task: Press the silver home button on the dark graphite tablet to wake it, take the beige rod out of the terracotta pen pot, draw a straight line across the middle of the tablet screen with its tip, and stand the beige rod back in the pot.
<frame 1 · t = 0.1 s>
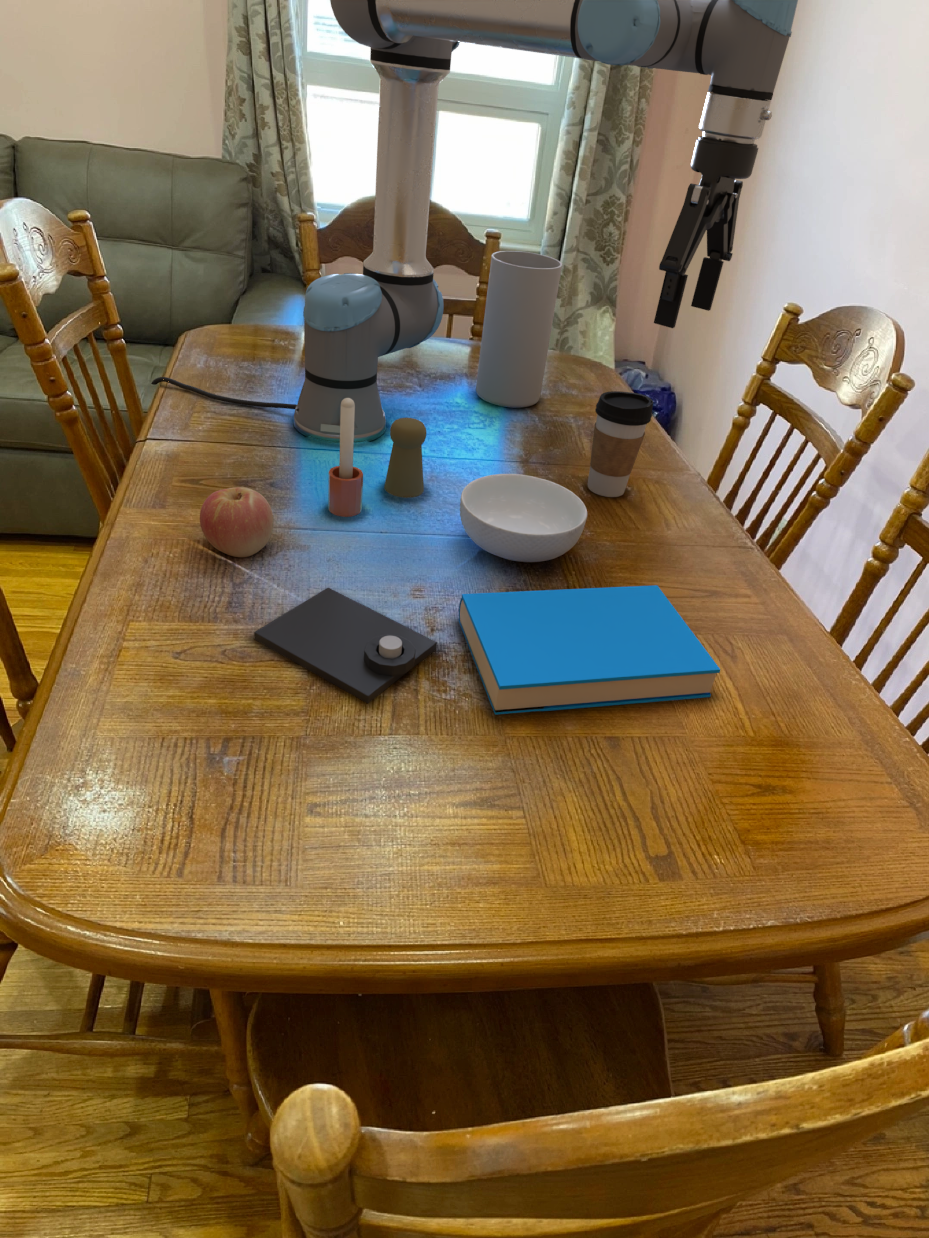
hand: (683, 316, 112), 28 cm above the table, tool pointing down, fingers open, 13 cm apart
coffee cup: (605, 489, 130), on the table
beige rod: (345, 508, 115), resting on pen pot
cereal bowl: (516, 548, 112), on the table
apple: (238, 550, 104), on the table
cylinder vase: (507, 397, 159), on the table
tablet: (346, 644, 91), on the table
book: (579, 657, 94), on the table
home button: (390, 647, 87), point 3 cm above the table, slide at 0.2 cm
pen pot: (344, 511, 115), on the table
cork: (403, 492, 122), on the table
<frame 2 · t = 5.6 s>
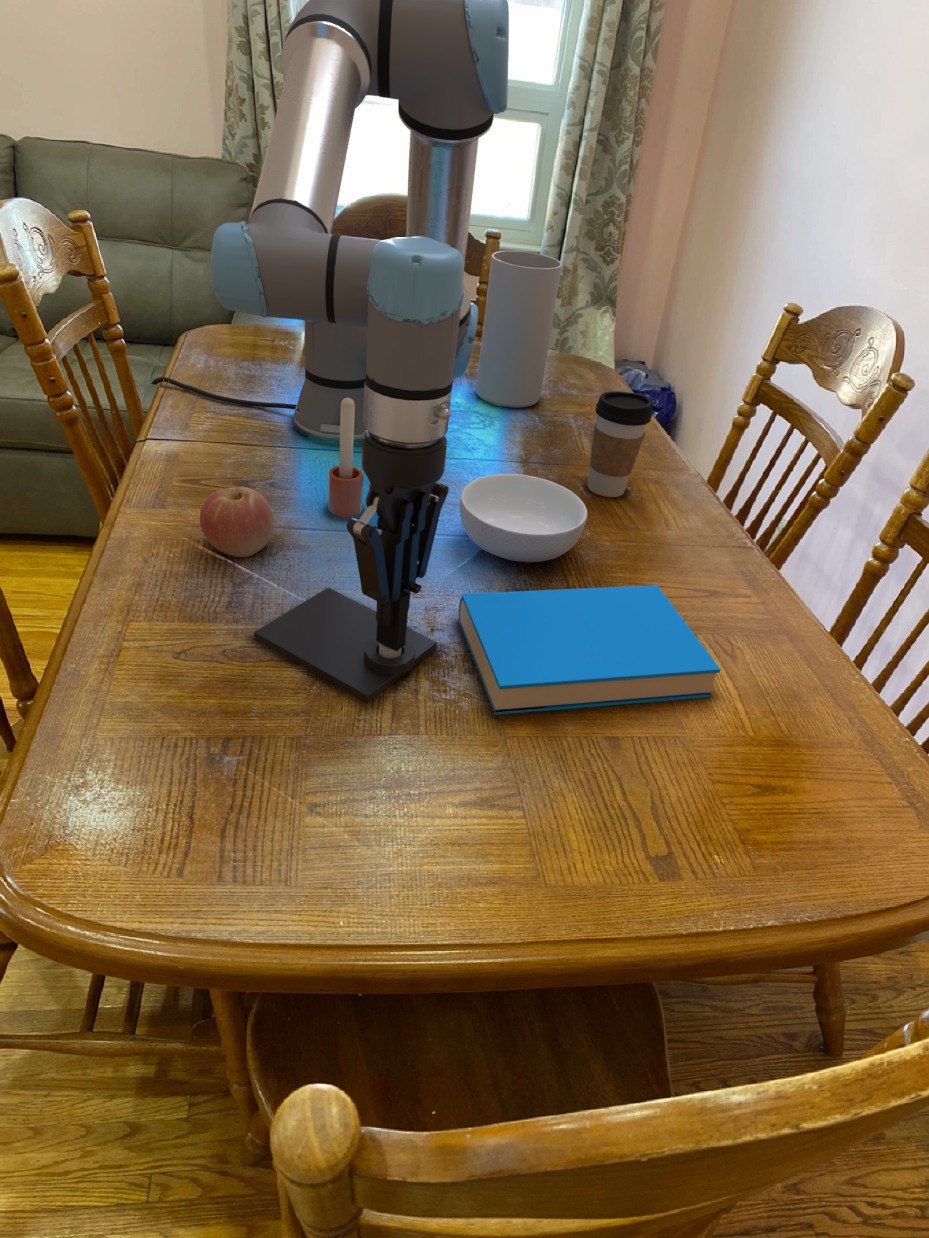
hand: (390, 642, 86), 3 cm above the table, tool pointing down, fingers closed
home button: (390, 649, 87), point 3 cm above the table, slide at -0.1 cm, touching gripper
everything else where it was.
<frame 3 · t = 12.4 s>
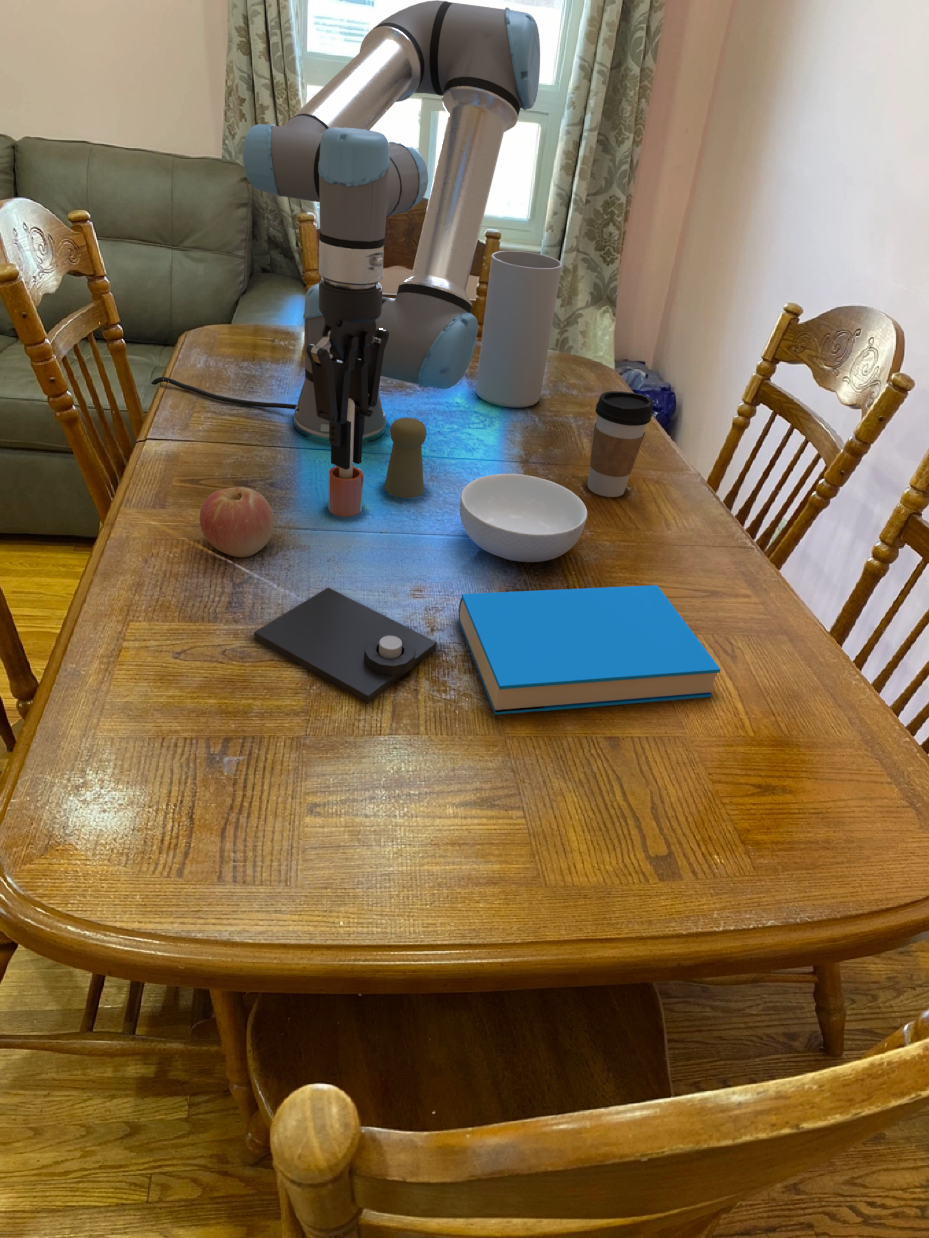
hand: (346, 462, 111), 7 cm above the table, tool pointing down, fingers closed on beige rod, 2 cm apart
beige rod: (345, 508, 115), resting on pen pot, touching gripper
home button: (390, 647, 87), point 3 cm above the table, slide at 0.1 cm
everything else where it was.
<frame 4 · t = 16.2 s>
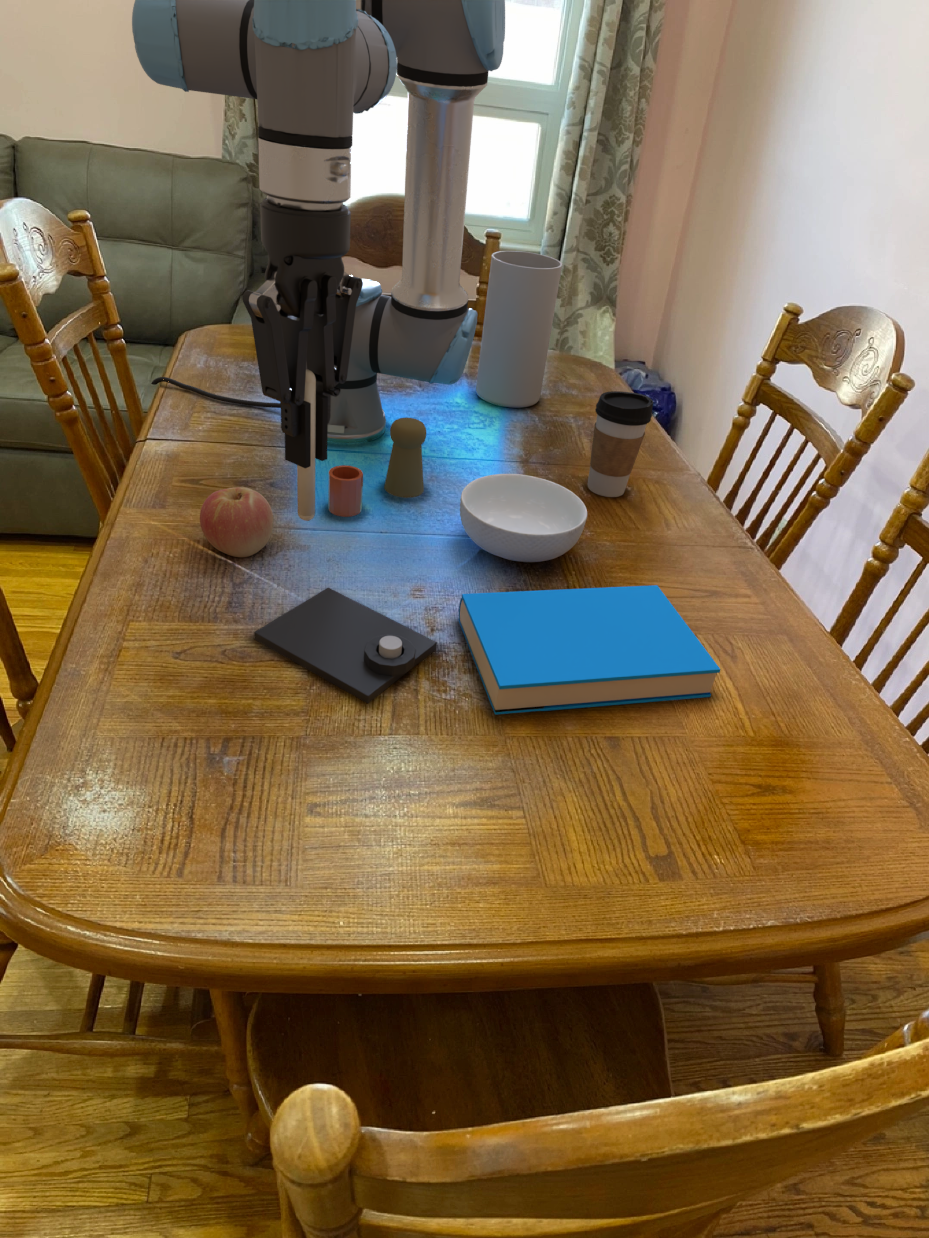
hand: (306, 459, 82), 20 cm above the table, tool pointing down, fingers closed on beige rod, 2 cm apart
beige rod: (306, 519, 86), point 13 cm above the table, touching gripper
everything else where it was.
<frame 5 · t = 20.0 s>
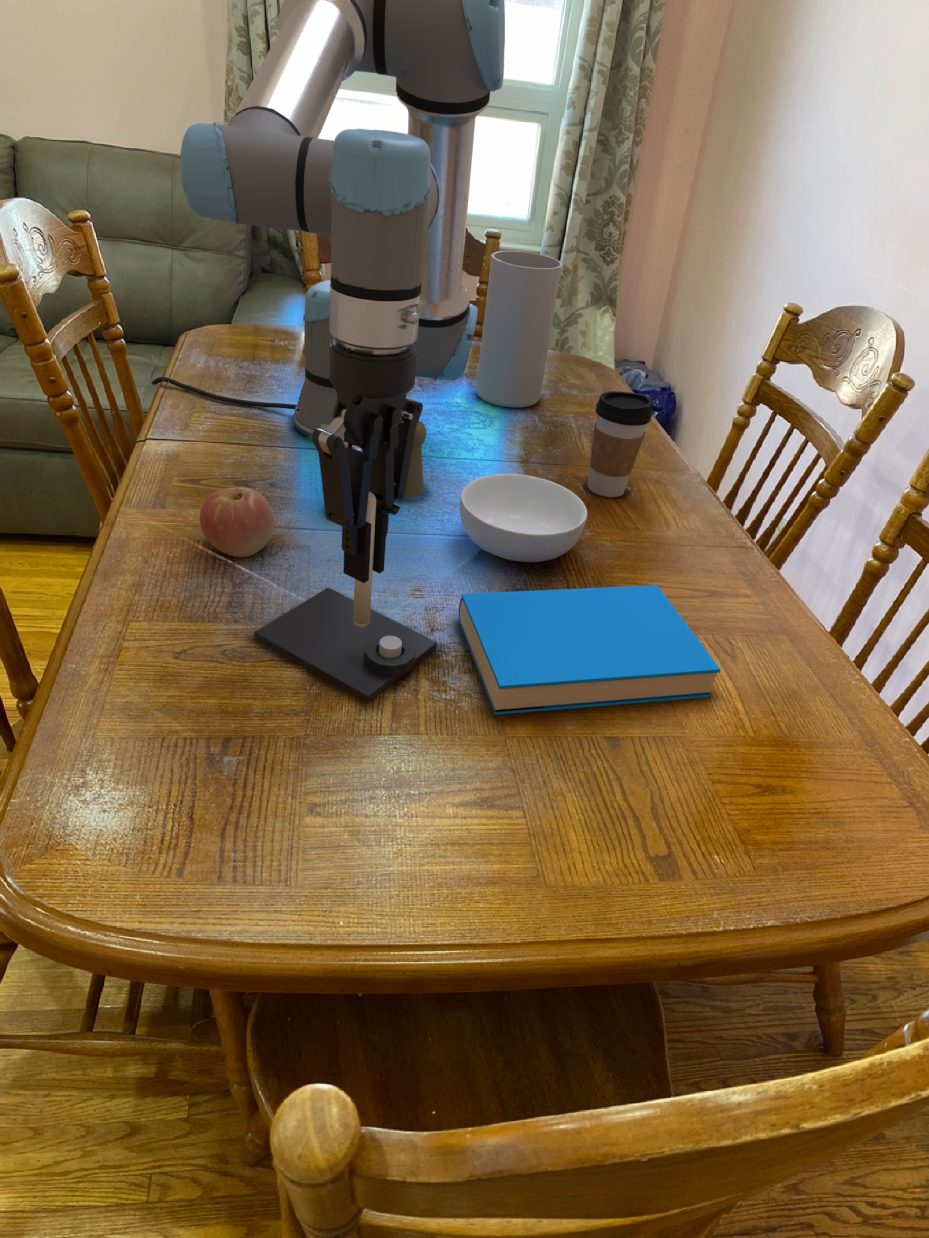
hand: (363, 571, 84), 11 cm above the table, tool pointing down, fingers closed on beige rod, 2 cm apart
beige rod: (361, 625, 88), point 4 cm above the table, touching gripper
everything else where it was.
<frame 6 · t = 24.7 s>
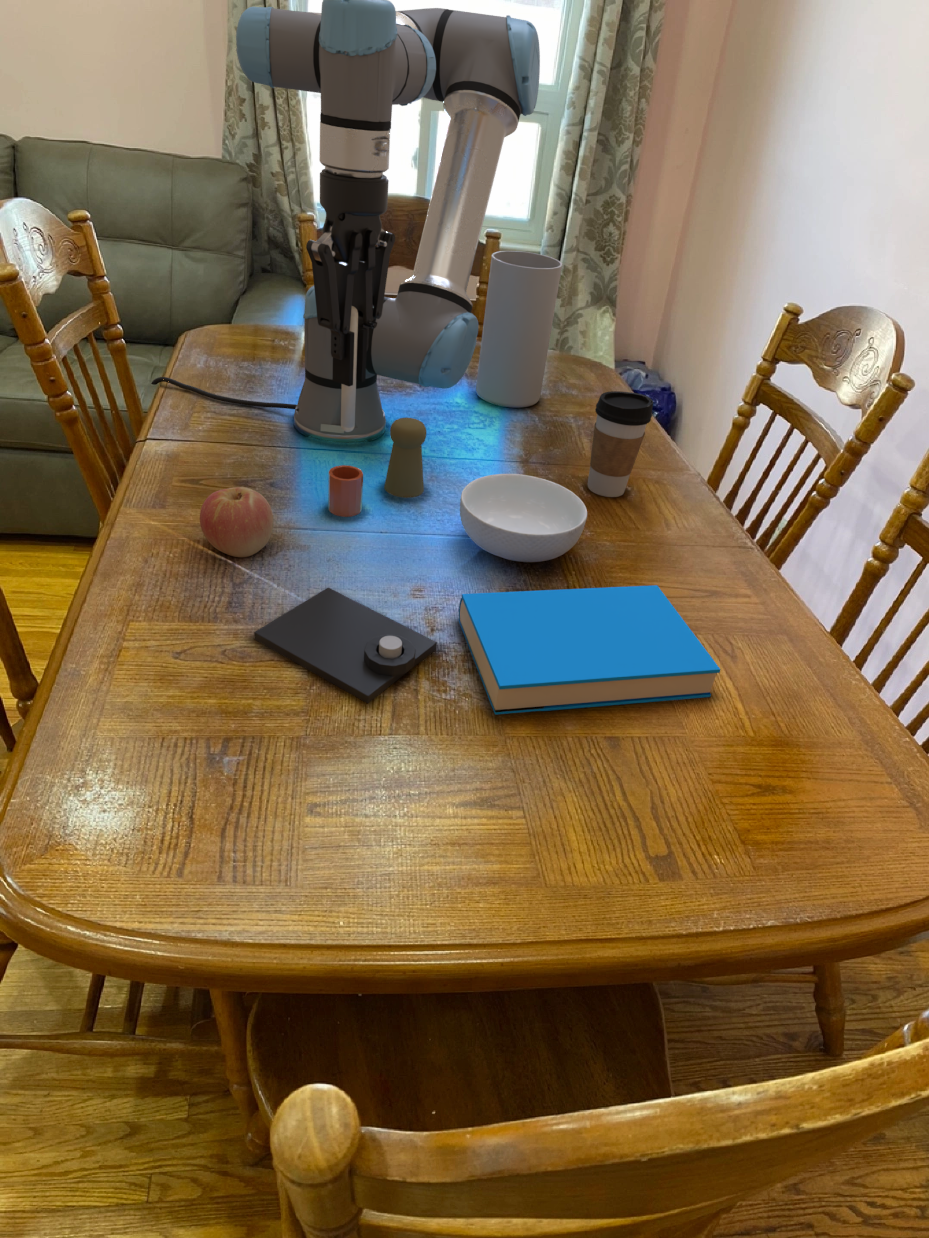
hand: (349, 380, 104), 19 cm above the table, tool pointing down, fingers closed on beige rod, 2 cm apart
beige rod: (347, 431, 108), point 12 cm above the table, touching gripper
everything else where it was.
when the fingers open (7 cm above the table, at t = 28.0 s): beige rod stays where it is, resting on pen pot.
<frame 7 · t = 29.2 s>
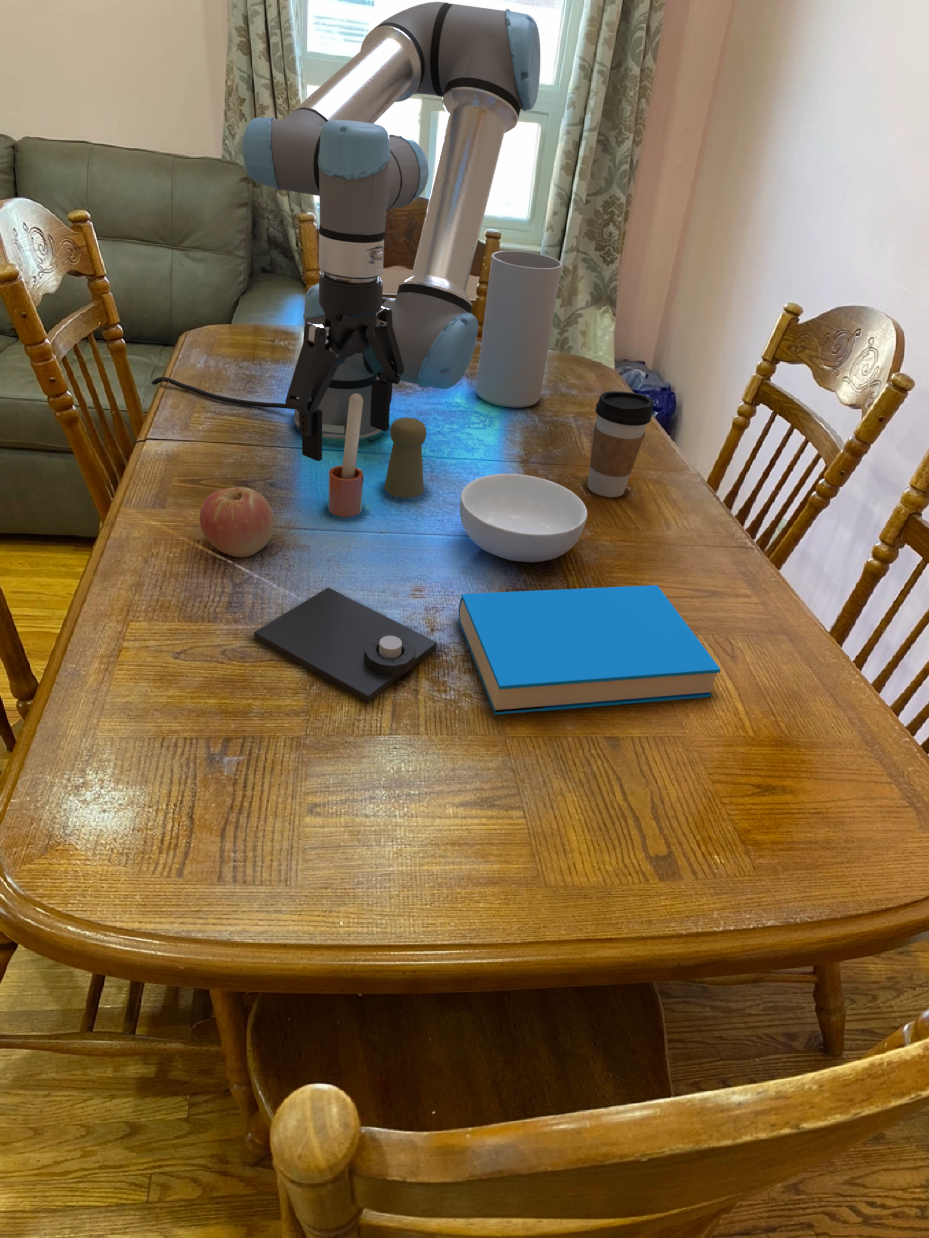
hand: (347, 442, 109), 10 cm above the table, tool pointing down, fingers open, 13 cm apart
beige rod: (344, 508, 115), point 1 cm above the table, tilted 10°, touching pen pot
everything else where it was.
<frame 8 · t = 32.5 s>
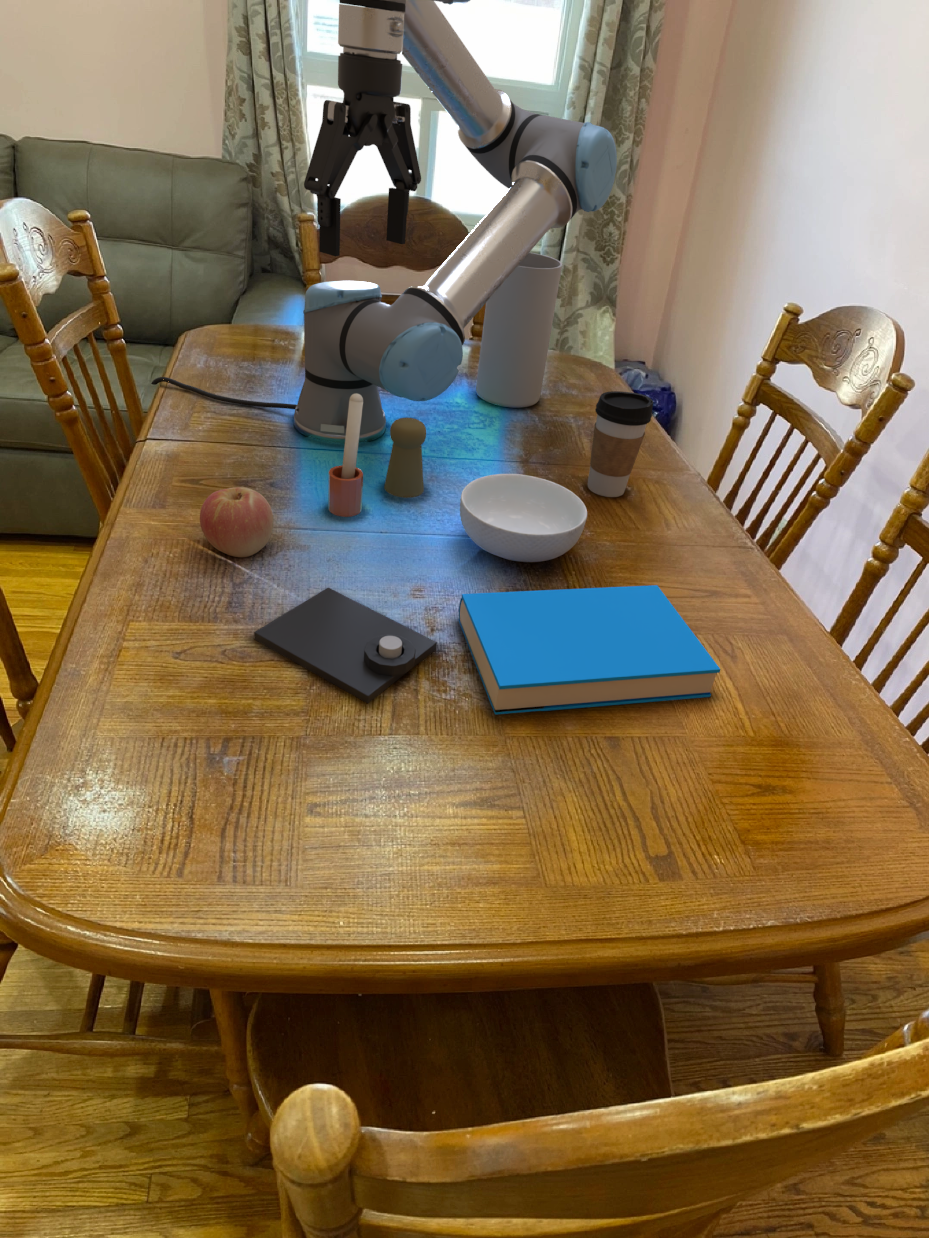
hand: (364, 248, 109), 32 cm above the table, tool pointing down, fingers open, 13 cm apart
nothing on the table moved.
at the end: home button pushed in 0.6 cm at the most during the clip, back to where it started at the end; beige rod 0.1 cm off-centre in the pen pot, point 0.5 cm above the pen pot's base; beige rod tilted 10° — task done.
